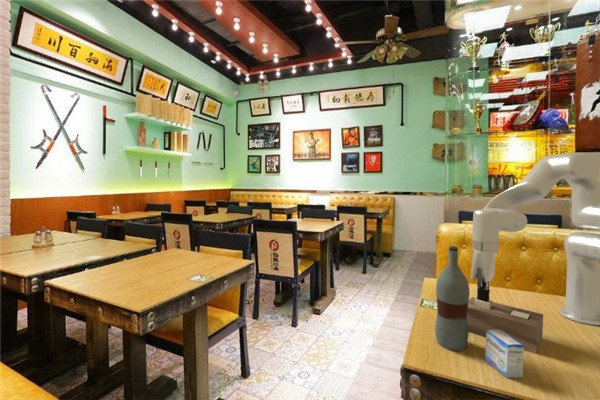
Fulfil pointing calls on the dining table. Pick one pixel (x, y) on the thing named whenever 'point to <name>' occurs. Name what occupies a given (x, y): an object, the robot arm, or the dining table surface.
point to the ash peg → (483, 304)
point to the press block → (506, 323)
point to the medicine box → (504, 353)
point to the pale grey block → (520, 315)
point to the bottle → (452, 305)
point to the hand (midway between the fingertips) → (483, 300)
